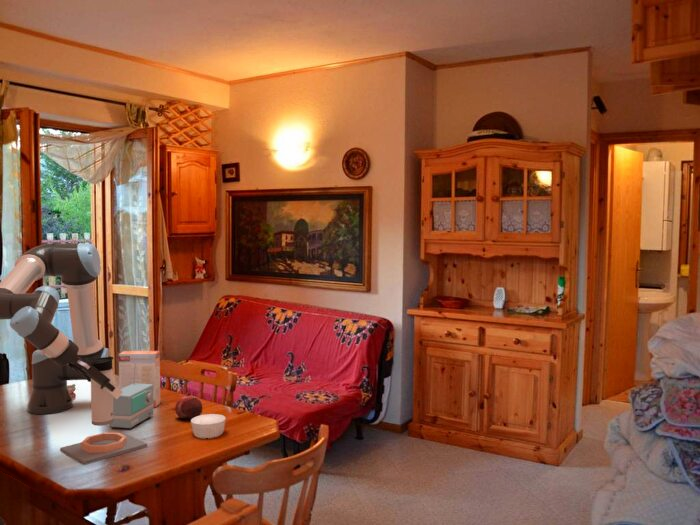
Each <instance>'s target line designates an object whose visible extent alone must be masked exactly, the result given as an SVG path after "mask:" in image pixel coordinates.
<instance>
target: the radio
mask: <svg viewBox="0 0 700 525" xmlns="http://www.w3.org/2000/svg"><path fill="white" fill-rule="evenodd" d="M135 371H136V362H135V370H134V383H133V384H131V385H129V386H127V387H124V388H122V389H120V390H121V391H122V392H123V393H122V394H121V395H120V396H119V398H118V399H116V398H114V397H113V422H112V423H111V424H108V425H109V427H111V428H117V429H132V428H134V426H136V425H138V424H140V423H142V422H143V421H145V420H146V419H150V417H152V416H153V415H154V410H155V409H154V408H155V407H153V406H154V405H153V384H139V383H135Z"/></svg>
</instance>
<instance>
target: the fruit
mask: <svg viewBox="0 0 700 525" xmlns="http://www.w3.org/2000/svg"><path fill="white" fill-rule="evenodd" d="M174 411H175V414H176V415H177V417H178V418H181V419H189V420H192V419H193V418H194V417H197V416H200V415H202V412H203V403H202V400H201V399H200V398H198V396H195V395H194V396H193V395H192V394H191V393H190V391H189V390H188V392H187V393H185V394H184V396H182V397H181V398H180V399H178V400H177V401H176V404H175V406H174Z"/></svg>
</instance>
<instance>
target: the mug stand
mask: <svg viewBox="0 0 700 525" xmlns="http://www.w3.org/2000/svg"><path fill="white" fill-rule="evenodd" d="M59 448H60V449H59V450H60V452H62V453H63V454H65V455H66V456H68V457H70V458H72V459H73V460H75V461H77V462H79V464H81V465H84V466H85V465H88V464H91V463H95V462H99V461H103V460H106V459H110V458H112V457H116V456H120V455H124V454H126V453H127V454H128V453H131V452H133V451H137V450H141V449H144V448H148V443H147V442H145V441H142V440H140V439H138V438H136V437H134V436H131V435H129V434H127V433H126V432H123V431H121V432H101V433H96V434H93V435H89V436H86V437H85V438H84V439H83V440H82V441H81V442H77V443H73V444H70V445H65V446H62V447H59Z"/></svg>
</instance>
